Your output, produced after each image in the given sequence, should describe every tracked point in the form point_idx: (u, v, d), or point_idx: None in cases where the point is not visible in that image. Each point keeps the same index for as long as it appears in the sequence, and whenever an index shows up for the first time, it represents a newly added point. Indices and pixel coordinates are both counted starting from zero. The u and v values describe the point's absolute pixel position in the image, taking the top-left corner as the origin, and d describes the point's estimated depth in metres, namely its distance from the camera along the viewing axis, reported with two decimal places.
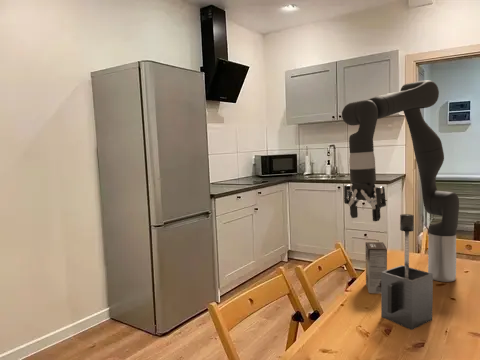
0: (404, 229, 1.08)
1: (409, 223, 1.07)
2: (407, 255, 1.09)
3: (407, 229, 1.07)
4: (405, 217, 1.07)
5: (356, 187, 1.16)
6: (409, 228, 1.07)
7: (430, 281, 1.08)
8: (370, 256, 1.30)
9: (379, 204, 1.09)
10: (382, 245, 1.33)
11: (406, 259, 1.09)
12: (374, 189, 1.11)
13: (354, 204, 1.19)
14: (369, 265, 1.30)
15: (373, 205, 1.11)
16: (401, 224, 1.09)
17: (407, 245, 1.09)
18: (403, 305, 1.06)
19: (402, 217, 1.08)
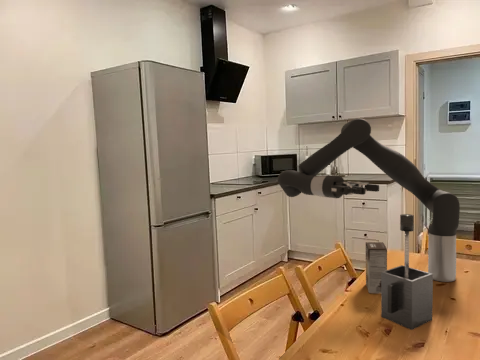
0: (404, 229, 1.08)
1: (409, 223, 1.07)
2: (407, 255, 1.09)
3: (407, 229, 1.07)
4: (405, 217, 1.07)
5: None
6: (409, 228, 1.07)
7: (430, 281, 1.08)
8: (370, 256, 1.30)
9: (344, 194, 1.16)
10: (382, 245, 1.33)
11: (406, 259, 1.09)
12: None
13: (366, 187, 1.22)
14: (369, 265, 1.30)
15: None
16: (401, 224, 1.09)
17: (407, 245, 1.09)
18: (403, 305, 1.06)
19: (402, 217, 1.08)
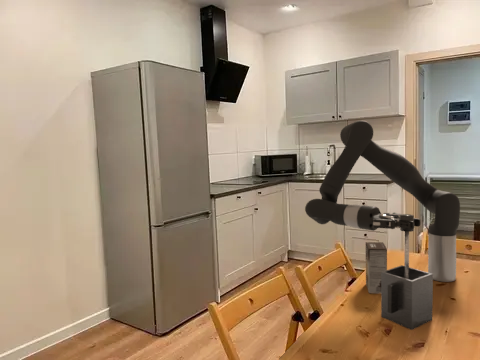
0: (404, 229, 1.08)
1: None
2: (407, 255, 1.09)
3: (407, 229, 1.07)
4: (405, 217, 1.07)
5: None
6: None
7: (430, 281, 1.08)
8: (370, 256, 1.30)
9: None
10: (382, 245, 1.33)
11: (406, 259, 1.09)
12: None
13: None
14: (369, 265, 1.30)
15: None
16: None
17: (407, 245, 1.09)
18: (403, 305, 1.06)
19: (402, 217, 1.08)
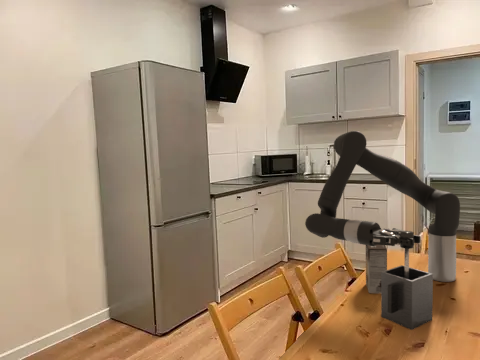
0: (404, 246, 1.08)
1: None
2: (407, 272, 1.10)
3: (407, 246, 1.08)
4: (405, 234, 1.08)
5: None
6: None
7: (430, 281, 1.08)
8: (370, 256, 1.30)
9: None
10: (382, 245, 1.33)
11: (406, 275, 1.10)
12: None
13: None
14: (369, 265, 1.30)
15: None
16: None
17: (407, 262, 1.10)
18: (403, 305, 1.06)
19: (402, 234, 1.09)
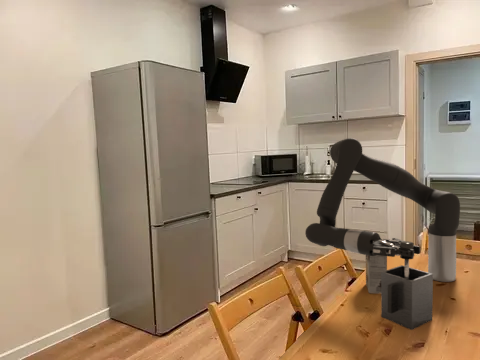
0: (404, 257, 1.09)
1: None
2: None
3: (407, 257, 1.08)
4: (405, 245, 1.08)
5: None
6: None
7: (430, 281, 1.08)
8: (370, 256, 1.30)
9: None
10: None
11: None
12: None
13: None
14: (369, 265, 1.30)
15: None
16: None
17: (407, 272, 1.10)
18: (403, 305, 1.06)
19: (402, 245, 1.09)
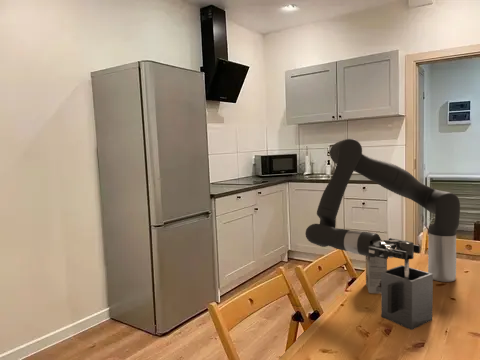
0: None
1: (409, 251, 1.08)
2: None
3: (407, 257, 1.08)
4: (405, 245, 1.08)
5: None
6: (409, 256, 1.08)
7: (430, 281, 1.08)
8: None
9: None
10: None
11: None
12: None
13: None
14: (369, 265, 1.30)
15: None
16: None
17: (407, 272, 1.10)
18: (403, 305, 1.06)
19: (402, 245, 1.09)
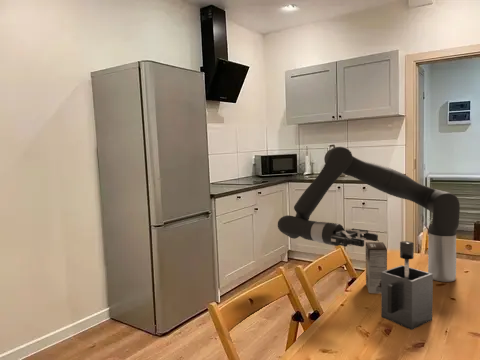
0: (404, 257, 1.09)
1: (409, 251, 1.08)
2: None
3: (407, 257, 1.08)
4: (405, 245, 1.08)
5: None
6: (409, 256, 1.08)
7: (430, 281, 1.08)
8: (370, 256, 1.30)
9: None
10: (382, 245, 1.33)
11: None
12: None
13: (364, 235, 1.25)
14: (369, 265, 1.30)
15: None
16: (401, 251, 1.09)
17: (407, 272, 1.10)
18: (403, 305, 1.06)
19: (402, 245, 1.09)
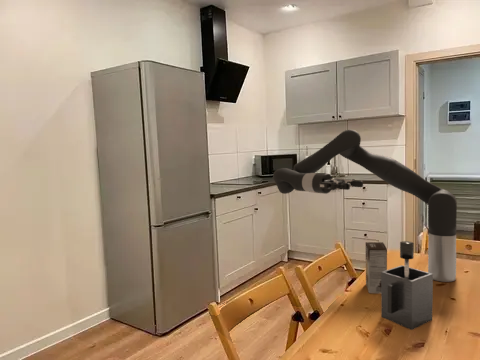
0: (404, 257, 1.09)
1: (409, 251, 1.08)
2: None
3: (407, 257, 1.08)
4: (405, 245, 1.08)
5: None
6: (409, 256, 1.08)
7: (430, 281, 1.08)
8: (370, 256, 1.30)
9: (331, 189, 1.29)
10: (382, 245, 1.33)
11: None
12: None
13: (351, 183, 1.35)
14: (369, 265, 1.30)
15: None
16: (401, 251, 1.09)
17: (407, 272, 1.10)
18: (403, 305, 1.06)
19: (402, 245, 1.09)
